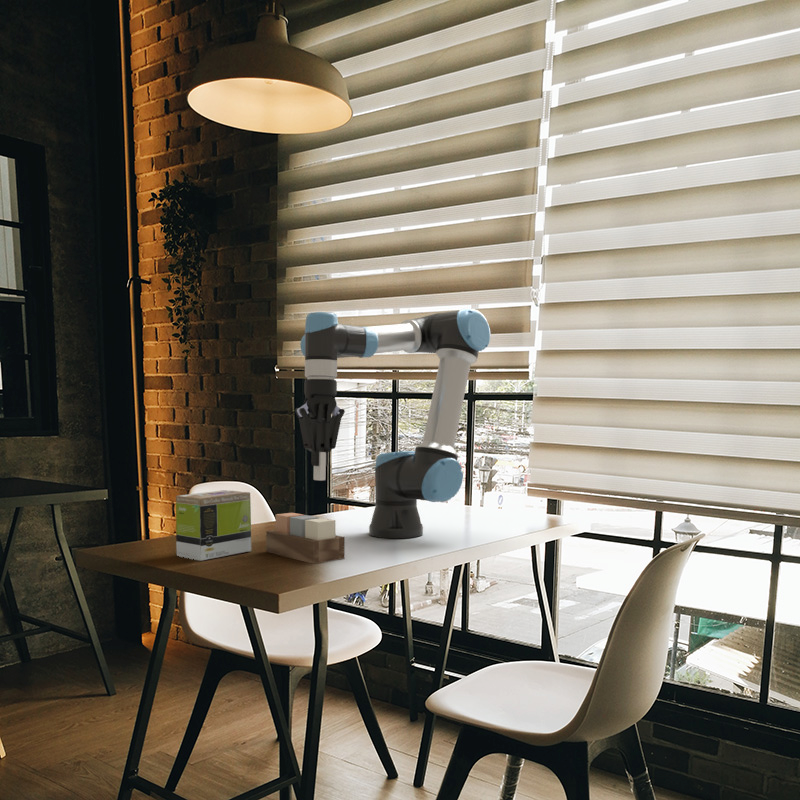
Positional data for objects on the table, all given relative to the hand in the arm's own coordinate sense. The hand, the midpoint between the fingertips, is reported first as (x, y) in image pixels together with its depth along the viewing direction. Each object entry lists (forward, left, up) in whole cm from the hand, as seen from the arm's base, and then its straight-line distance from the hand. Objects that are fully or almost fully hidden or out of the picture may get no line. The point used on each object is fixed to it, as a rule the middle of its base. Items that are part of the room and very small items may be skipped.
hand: (319, 479), depth 169 cm
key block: (0, -6, -18) cm, 19 cm away
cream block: (0, 0, -15) cm, 15 cm away
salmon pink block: (0, -13, -15) cm, 20 cm away
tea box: (+15, -22, -19) cm, 32 cm away
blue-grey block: (0, -6, -15) cm, 16 cm away
